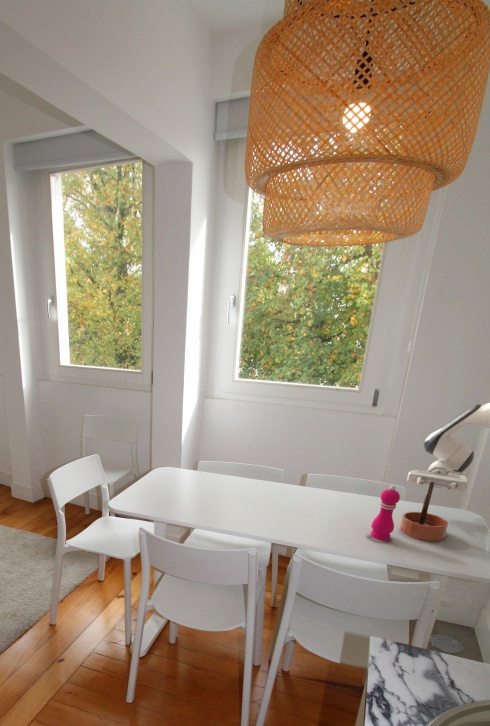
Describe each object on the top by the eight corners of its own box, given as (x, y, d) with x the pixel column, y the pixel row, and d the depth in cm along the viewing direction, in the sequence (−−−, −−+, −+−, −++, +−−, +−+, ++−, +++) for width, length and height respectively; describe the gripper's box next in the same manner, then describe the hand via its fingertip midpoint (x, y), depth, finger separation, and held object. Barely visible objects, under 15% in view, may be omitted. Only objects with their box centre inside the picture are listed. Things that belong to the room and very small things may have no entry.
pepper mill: (389, 544, 164) (403, 491, 156) (367, 538, 167) (380, 486, 159) (391, 536, 170) (405, 484, 161) (370, 531, 173) (383, 480, 165)
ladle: (430, 530, 174) (443, 481, 167) (424, 534, 170) (437, 484, 163) (414, 526, 177) (426, 478, 170) (408, 530, 174) (420, 480, 167)
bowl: (445, 532, 174) (449, 517, 172) (442, 546, 163) (446, 530, 161) (402, 523, 182) (406, 509, 179) (396, 535, 170) (400, 520, 168)
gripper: (411, 464, 191) (406, 472, 180) (470, 473, 180) (468, 481, 170) (407, 479, 193) (402, 487, 183) (465, 488, 183) (464, 498, 172)
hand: (435, 484), depth 176 cm, fingers open, 8 cm apart
